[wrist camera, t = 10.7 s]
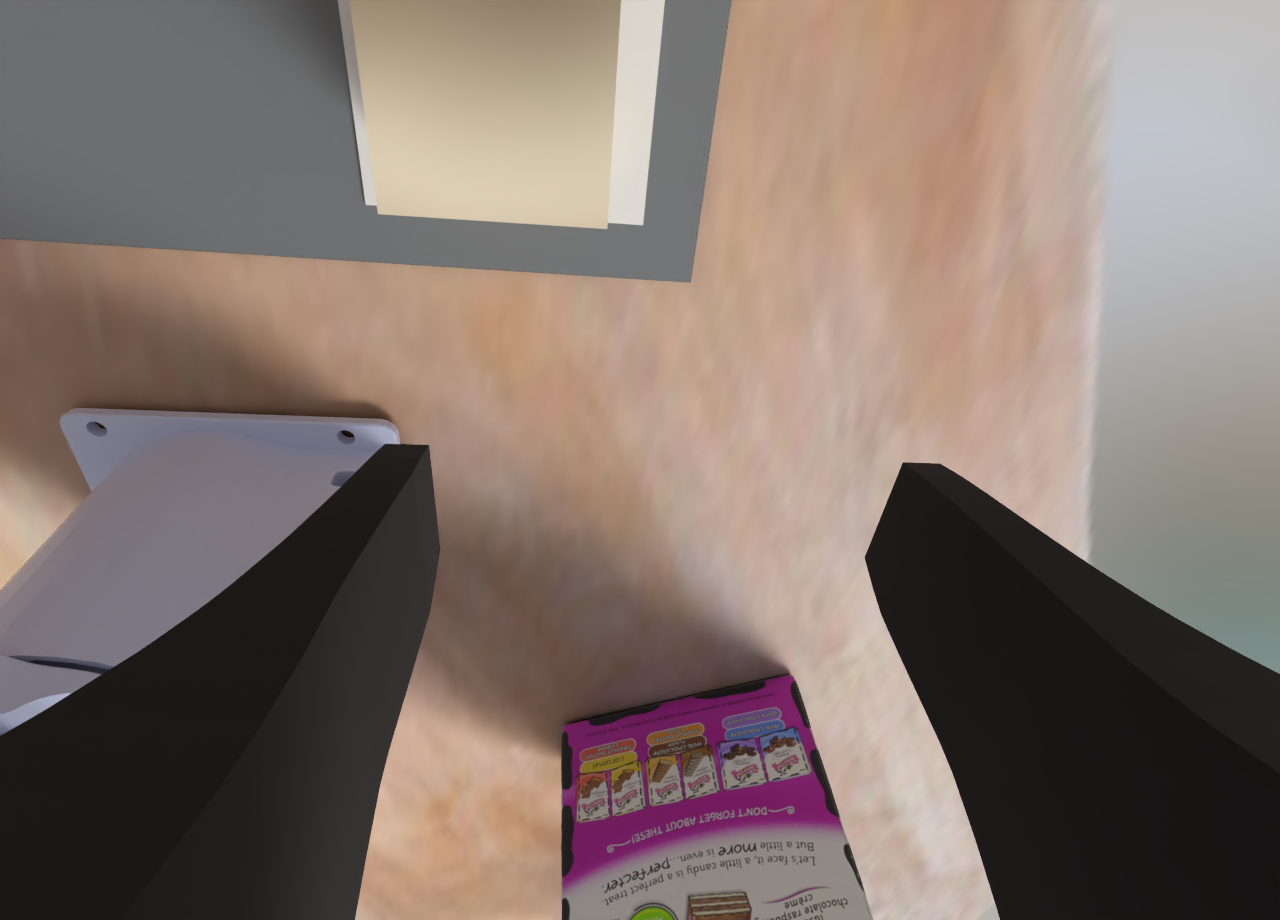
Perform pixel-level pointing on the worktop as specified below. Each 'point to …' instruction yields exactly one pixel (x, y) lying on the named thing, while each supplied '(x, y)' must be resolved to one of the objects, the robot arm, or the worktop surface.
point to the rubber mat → (312, 138)
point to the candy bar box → (704, 813)
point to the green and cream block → (490, 107)
